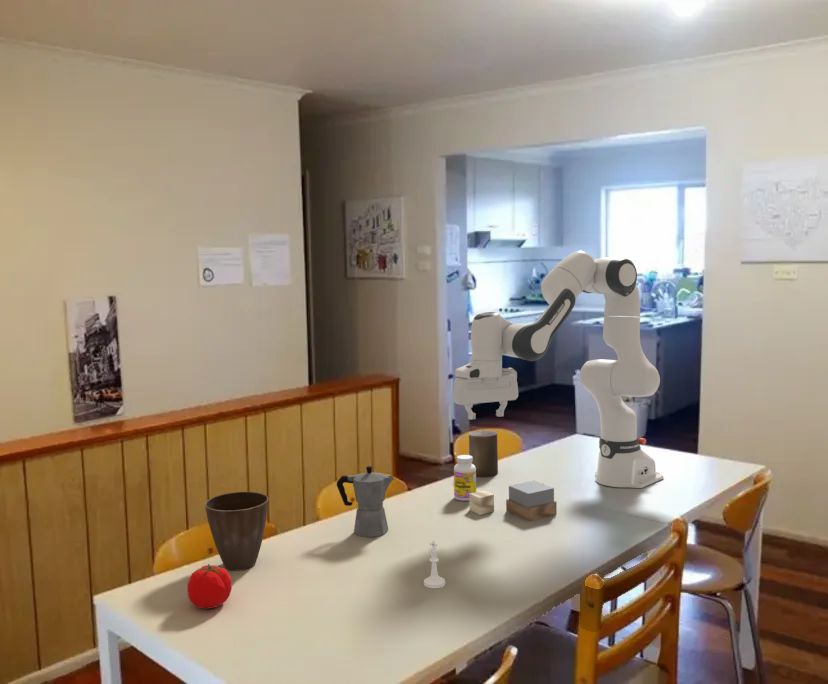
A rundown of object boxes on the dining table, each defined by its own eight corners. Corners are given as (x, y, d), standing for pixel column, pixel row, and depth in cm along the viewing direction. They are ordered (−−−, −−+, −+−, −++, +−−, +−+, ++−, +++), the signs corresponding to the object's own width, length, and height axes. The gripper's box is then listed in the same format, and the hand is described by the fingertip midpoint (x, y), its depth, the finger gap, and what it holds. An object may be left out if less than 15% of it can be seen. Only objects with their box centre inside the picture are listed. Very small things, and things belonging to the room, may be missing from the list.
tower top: (533, 493, 226) (533, 480, 225) (554, 502, 218) (553, 488, 217) (509, 499, 221) (508, 485, 221) (528, 507, 213) (528, 493, 213)
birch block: (483, 506, 226) (483, 490, 226) (494, 511, 222) (493, 494, 222) (469, 510, 224) (469, 493, 223) (480, 515, 219) (479, 497, 219)
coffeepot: (395, 524, 213) (393, 460, 211) (396, 536, 204) (394, 470, 202) (339, 526, 213) (337, 462, 211) (337, 539, 203) (334, 472, 201)
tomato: (191, 618, 160) (188, 579, 160) (184, 598, 170) (182, 562, 169) (236, 609, 164) (234, 571, 163) (227, 590, 174) (225, 554, 173)
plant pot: (204, 559, 192) (200, 496, 190) (263, 548, 198) (260, 487, 196) (213, 581, 178) (209, 514, 177) (277, 569, 184) (274, 504, 182)
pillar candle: (499, 476, 256) (498, 432, 254) (469, 477, 256) (469, 432, 255) (496, 469, 266) (496, 426, 264) (468, 469, 266) (467, 426, 264)
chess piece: (438, 590, 171) (437, 546, 170) (419, 585, 174) (418, 542, 172) (449, 581, 175) (448, 539, 174) (430, 577, 178) (429, 535, 177)
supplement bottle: (451, 500, 233) (450, 458, 231) (458, 493, 239) (457, 453, 237) (472, 502, 230) (471, 460, 229) (479, 495, 236) (478, 454, 235)
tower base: (532, 506, 227) (532, 493, 226) (556, 515, 218) (556, 501, 218) (506, 513, 222) (506, 499, 221) (529, 522, 213) (529, 508, 213)
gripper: (510, 366, 227) (510, 412, 228) (449, 370, 218) (449, 419, 219) (523, 368, 221) (522, 416, 223) (461, 373, 212) (461, 422, 213)
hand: (486, 417), depth 221 cm, fingers open, 8 cm apart
